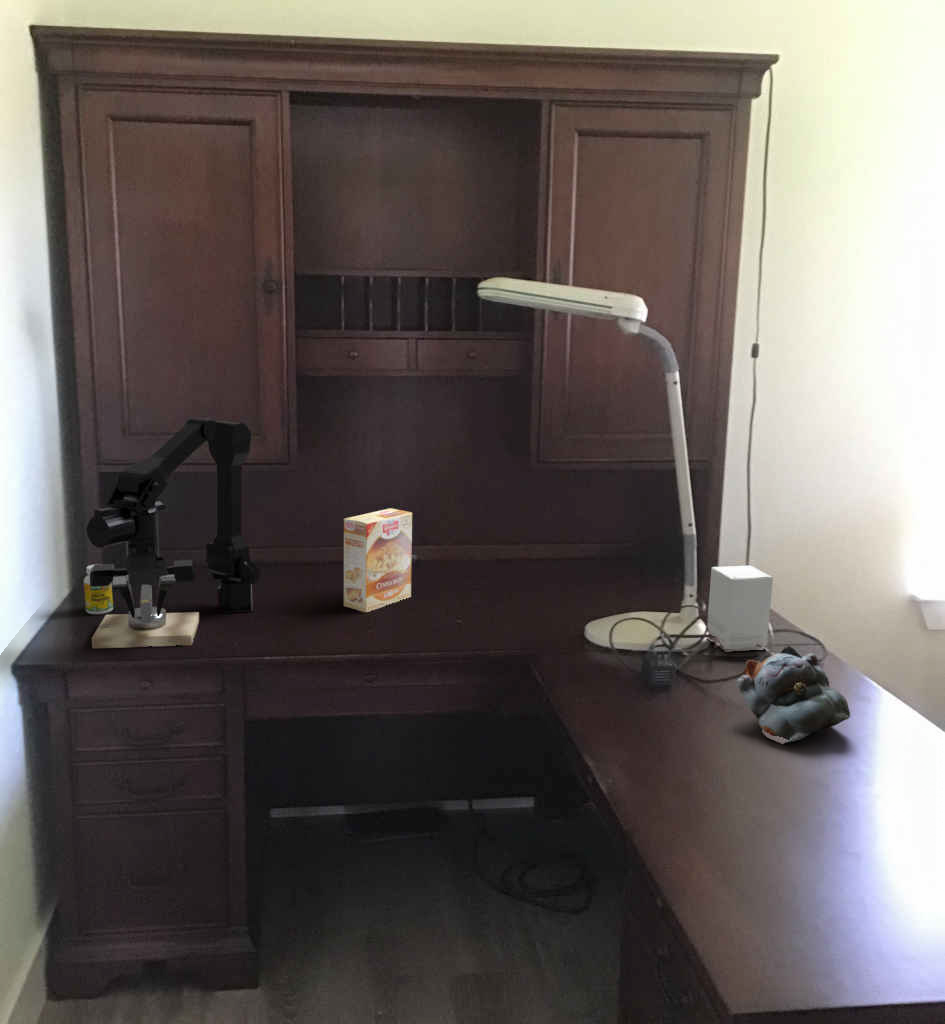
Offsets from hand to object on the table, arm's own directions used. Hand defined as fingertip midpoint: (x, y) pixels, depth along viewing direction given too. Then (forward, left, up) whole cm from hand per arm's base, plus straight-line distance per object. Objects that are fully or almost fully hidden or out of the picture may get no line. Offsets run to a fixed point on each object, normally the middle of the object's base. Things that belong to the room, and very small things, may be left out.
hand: (146, 616), depth 191 cm
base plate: (+1, -5, -5) cm, 7 cm away
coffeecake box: (-45, -22, -6) cm, 51 cm away
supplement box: (-113, +12, -6) cm, 114 cm away
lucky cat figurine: (-106, +51, -6) cm, 117 cm away
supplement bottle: (+13, -21, -6) cm, 25 cm away
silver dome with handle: (+1, -5, -3) cm, 6 cm away
